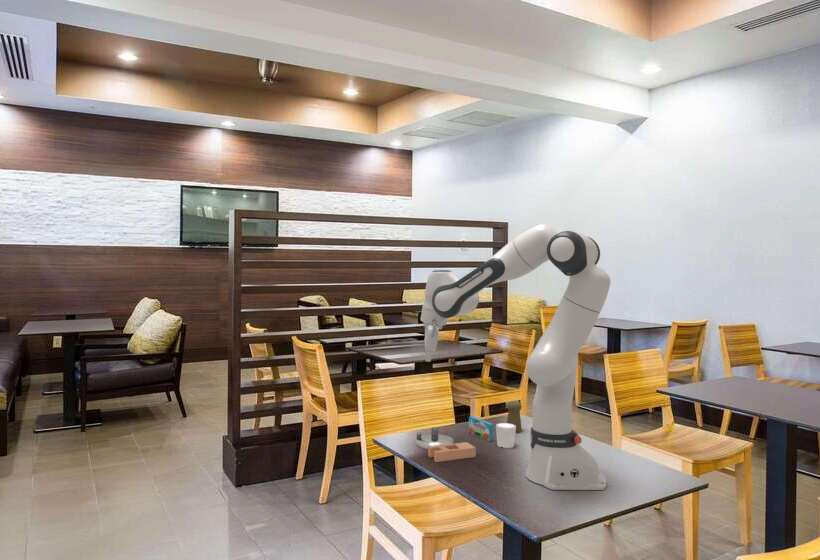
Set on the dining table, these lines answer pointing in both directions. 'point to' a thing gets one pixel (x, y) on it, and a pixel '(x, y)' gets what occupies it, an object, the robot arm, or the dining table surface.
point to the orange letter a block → (452, 451)
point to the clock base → (433, 443)
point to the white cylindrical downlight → (505, 435)
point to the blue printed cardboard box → (481, 428)
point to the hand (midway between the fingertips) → (427, 357)
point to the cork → (514, 415)
